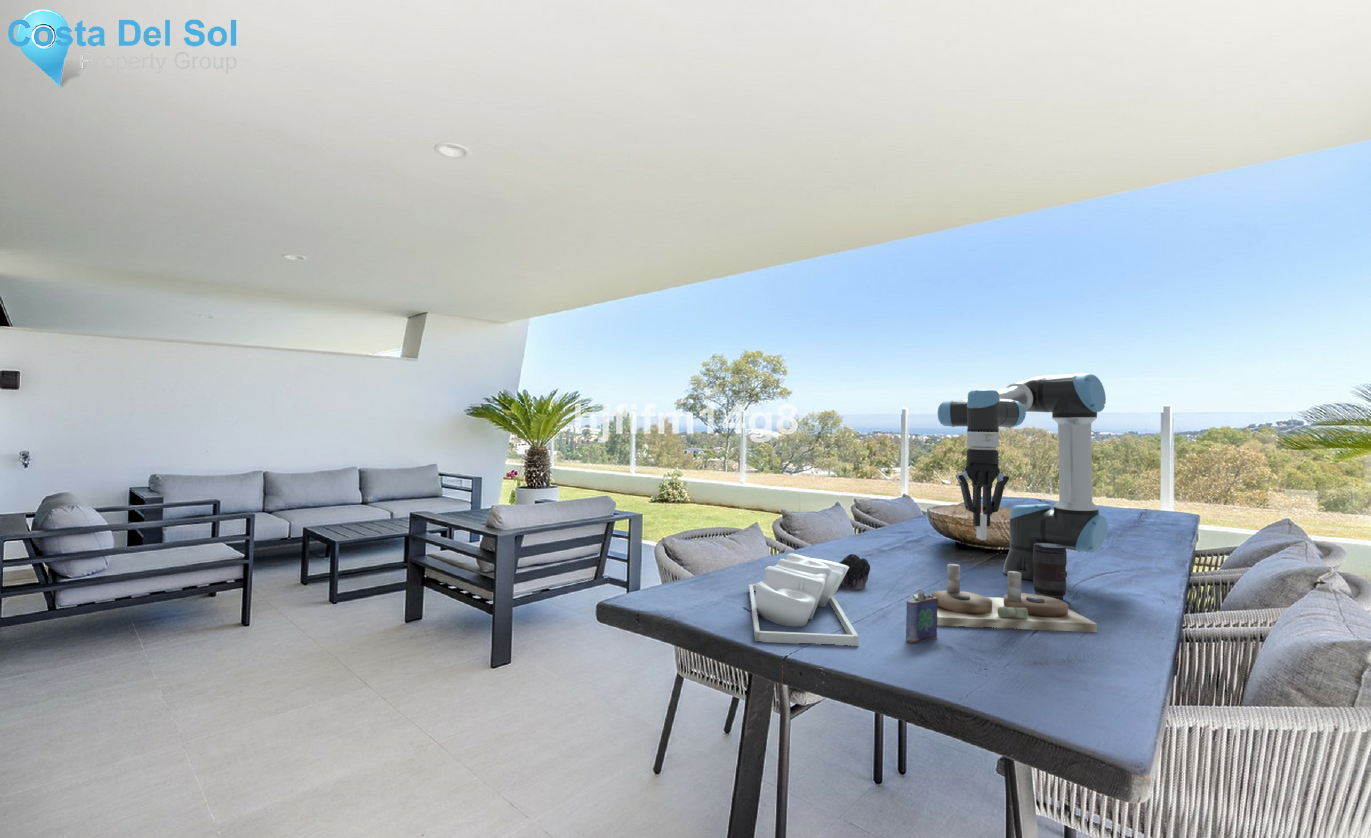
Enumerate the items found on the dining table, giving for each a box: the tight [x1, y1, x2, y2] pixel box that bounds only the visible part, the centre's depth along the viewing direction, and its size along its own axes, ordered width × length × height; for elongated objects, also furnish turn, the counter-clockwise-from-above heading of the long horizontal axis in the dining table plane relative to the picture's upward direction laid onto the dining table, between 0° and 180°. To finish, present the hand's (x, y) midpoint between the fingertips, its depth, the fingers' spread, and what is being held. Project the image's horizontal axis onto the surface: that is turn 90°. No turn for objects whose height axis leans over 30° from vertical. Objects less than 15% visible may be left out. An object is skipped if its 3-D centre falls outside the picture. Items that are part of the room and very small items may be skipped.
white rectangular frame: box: [748, 583, 860, 647], centre depth 151 cm, size 22×41×2 cm, turn 176°
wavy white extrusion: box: [755, 552, 849, 628], centre depth 155 cm, size 35×16×10 cm, turn 147°
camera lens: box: [1032, 543, 1068, 601], centre depth 170 cm, size 8×8×15 cm
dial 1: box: [931, 563, 992, 613], centre depth 154 cm, size 14×14×9 cm
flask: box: [905, 589, 938, 644], centre depth 135 cm, size 9×3×11 cm, turn 121°
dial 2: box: [1003, 571, 1069, 616], centre depth 152 cm, size 14×14×9 cm
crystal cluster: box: [838, 553, 871, 590], centre depth 181 cm, size 13×14×10 cm
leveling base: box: [912, 593, 1098, 633], centre depth 153 cm, size 36×20×4 cm, turn 86°
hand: (981, 538), depth 159 cm, fingers closed
